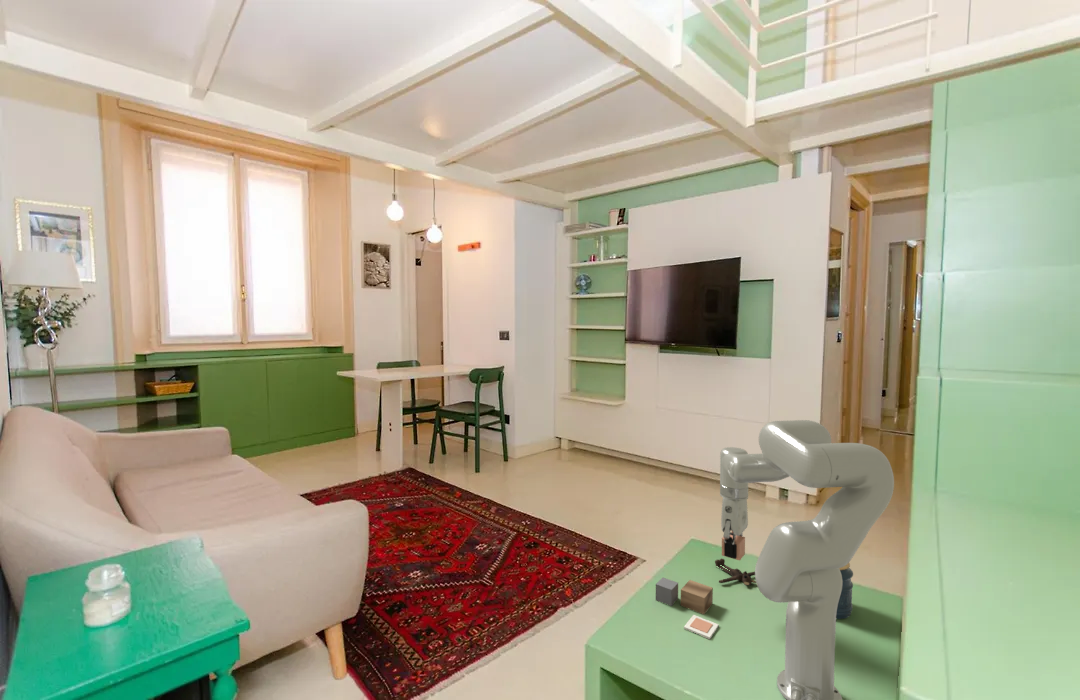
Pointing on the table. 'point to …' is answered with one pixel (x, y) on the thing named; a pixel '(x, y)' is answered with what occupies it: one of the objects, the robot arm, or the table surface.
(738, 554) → the terracotta block
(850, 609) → the canister
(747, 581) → the brown spindly figurine
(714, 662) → the table surface
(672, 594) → the charcoal block
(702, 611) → the walnut block
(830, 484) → the robot arm
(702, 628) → the card
